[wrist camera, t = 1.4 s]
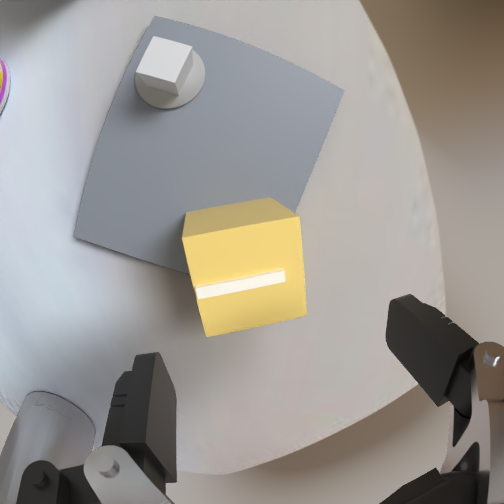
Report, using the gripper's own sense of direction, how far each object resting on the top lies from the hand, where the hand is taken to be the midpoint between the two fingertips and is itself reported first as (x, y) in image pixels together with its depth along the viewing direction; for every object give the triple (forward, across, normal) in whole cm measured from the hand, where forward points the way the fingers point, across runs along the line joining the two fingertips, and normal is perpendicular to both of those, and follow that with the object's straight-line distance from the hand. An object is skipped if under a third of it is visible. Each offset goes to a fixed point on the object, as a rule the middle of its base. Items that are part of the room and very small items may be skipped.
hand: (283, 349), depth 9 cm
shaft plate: (+13, +1, -6) cm, 14 cm away
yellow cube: (+12, 0, 0) cm, 12 cm away
